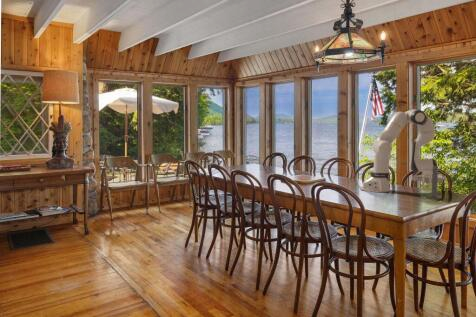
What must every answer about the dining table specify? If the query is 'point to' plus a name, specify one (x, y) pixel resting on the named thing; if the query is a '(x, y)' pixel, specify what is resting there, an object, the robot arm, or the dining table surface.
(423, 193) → the mat
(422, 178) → the link
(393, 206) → the dining table surface
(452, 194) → the dining table surface
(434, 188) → the stand
